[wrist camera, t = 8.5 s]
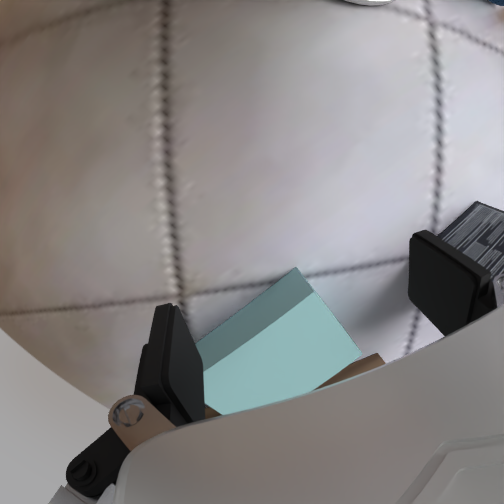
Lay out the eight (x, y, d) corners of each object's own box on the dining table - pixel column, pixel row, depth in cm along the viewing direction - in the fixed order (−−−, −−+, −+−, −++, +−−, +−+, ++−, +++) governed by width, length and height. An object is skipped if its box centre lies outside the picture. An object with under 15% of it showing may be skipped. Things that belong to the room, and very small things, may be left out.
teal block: (182, 350, 25) (181, 386, 21) (295, 265, 24) (314, 291, 20) (240, 395, 28) (247, 430, 24) (341, 325, 27) (362, 354, 23)
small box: (425, 304, 28) (490, 360, 18) (409, 257, 25) (490, 311, 16) (486, 246, 27) (553, 283, 17) (476, 198, 25) (555, 227, 15)
